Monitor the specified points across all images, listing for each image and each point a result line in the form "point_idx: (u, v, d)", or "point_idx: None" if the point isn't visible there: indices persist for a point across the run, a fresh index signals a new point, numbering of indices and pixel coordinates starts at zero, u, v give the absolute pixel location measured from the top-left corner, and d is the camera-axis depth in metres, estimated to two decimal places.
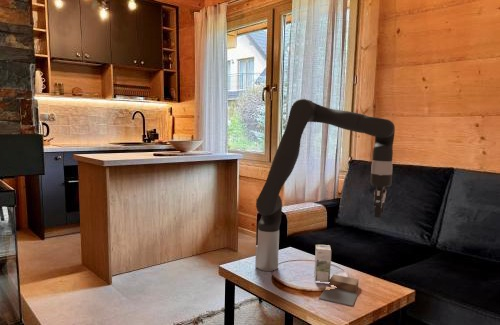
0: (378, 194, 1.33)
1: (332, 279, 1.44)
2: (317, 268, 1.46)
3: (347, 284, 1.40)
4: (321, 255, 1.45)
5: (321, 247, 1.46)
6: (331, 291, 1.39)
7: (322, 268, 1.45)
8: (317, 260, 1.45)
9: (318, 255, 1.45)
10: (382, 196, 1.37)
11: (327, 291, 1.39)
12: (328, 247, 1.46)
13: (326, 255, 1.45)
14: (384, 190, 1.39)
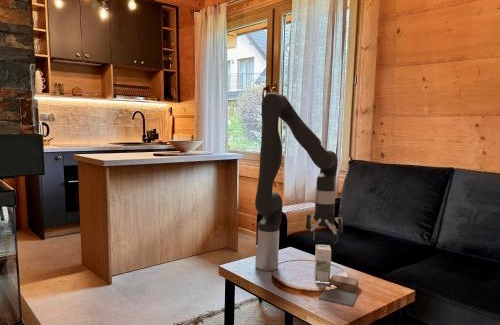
0: (341, 221, 1.43)
1: (332, 279, 1.44)
2: (317, 268, 1.46)
3: (347, 284, 1.40)
4: (321, 255, 1.45)
5: (321, 247, 1.46)
6: (331, 291, 1.39)
7: (322, 268, 1.45)
8: (317, 260, 1.45)
9: (318, 255, 1.45)
10: None
11: (327, 291, 1.39)
12: (328, 247, 1.46)
13: (326, 255, 1.45)
14: None
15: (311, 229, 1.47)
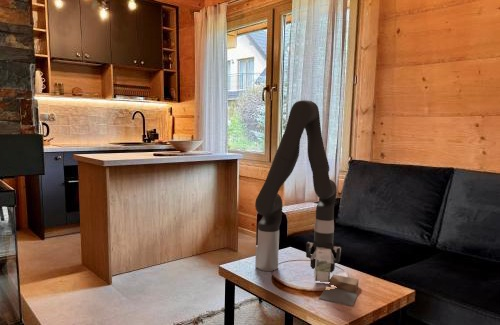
0: (340, 251, 1.45)
1: (332, 279, 1.44)
2: (317, 268, 1.46)
3: (347, 284, 1.40)
4: (321, 255, 1.45)
5: (321, 247, 1.46)
6: (331, 291, 1.39)
7: (322, 268, 1.45)
8: (317, 260, 1.45)
9: (318, 255, 1.45)
10: None
11: (327, 291, 1.39)
12: None
13: (326, 255, 1.45)
14: None
15: (311, 258, 1.48)
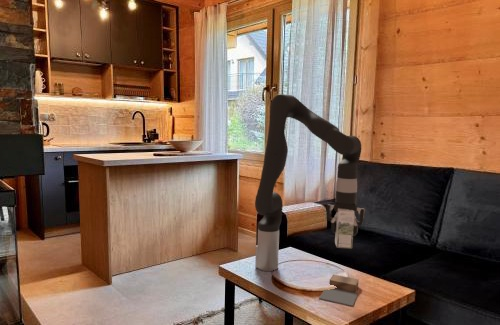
0: (364, 212, 1.34)
1: (332, 279, 1.44)
2: (339, 231, 1.35)
3: (347, 284, 1.40)
4: (343, 217, 1.34)
5: None
6: (331, 291, 1.39)
7: (345, 230, 1.35)
8: (339, 222, 1.35)
9: (340, 217, 1.34)
10: None
11: (327, 291, 1.39)
12: None
13: (349, 217, 1.34)
14: None
15: (332, 221, 1.38)
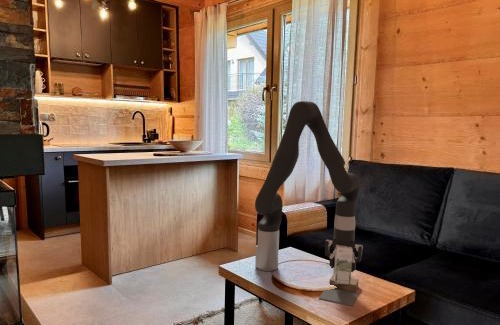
0: (362, 249, 1.35)
1: (332, 279, 1.44)
2: (337, 268, 1.36)
3: None
4: (341, 254, 1.36)
5: (341, 245, 1.37)
6: (331, 291, 1.39)
7: (343, 267, 1.36)
8: (337, 259, 1.36)
9: (338, 254, 1.36)
10: None
11: (327, 291, 1.39)
12: None
13: (347, 254, 1.35)
14: None
15: (330, 256, 1.39)
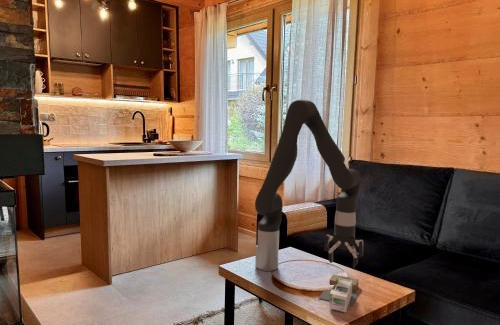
0: (362, 244, 1.35)
1: (332, 279, 1.44)
2: None
3: None
4: None
5: (335, 305, 1.24)
6: None
7: None
8: None
9: None
10: None
11: (327, 291, 1.39)
12: (343, 305, 1.23)
13: None
14: None
15: (329, 251, 1.40)
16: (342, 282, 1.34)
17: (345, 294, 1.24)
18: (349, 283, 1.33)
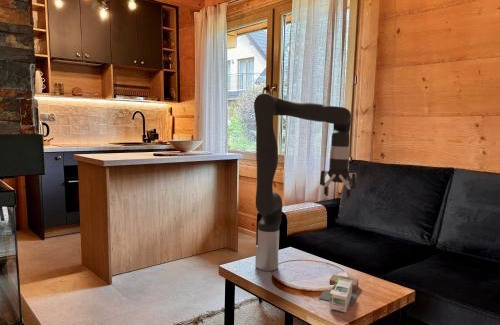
0: (355, 176, 1.46)
1: (332, 279, 1.44)
2: None
3: None
4: None
5: (335, 305, 1.24)
6: None
7: None
8: None
9: None
10: None
11: (327, 291, 1.39)
12: (343, 305, 1.23)
13: None
14: None
15: (325, 185, 1.50)
16: (342, 282, 1.34)
17: (345, 294, 1.24)
18: (349, 283, 1.33)
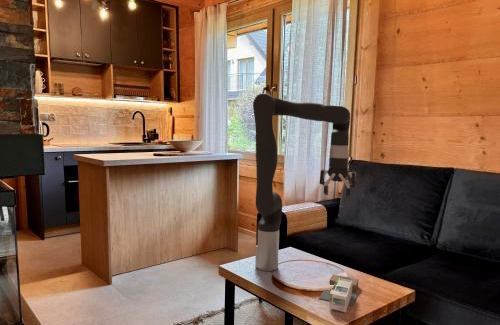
0: (355, 175, 1.47)
1: (332, 279, 1.44)
2: None
3: None
4: None
5: (335, 305, 1.24)
6: None
7: None
8: None
9: None
10: (344, 177, 1.49)
11: (327, 291, 1.39)
12: (343, 305, 1.23)
13: None
14: None
15: (325, 184, 1.51)
16: (342, 282, 1.34)
17: (345, 294, 1.24)
18: (349, 283, 1.33)
